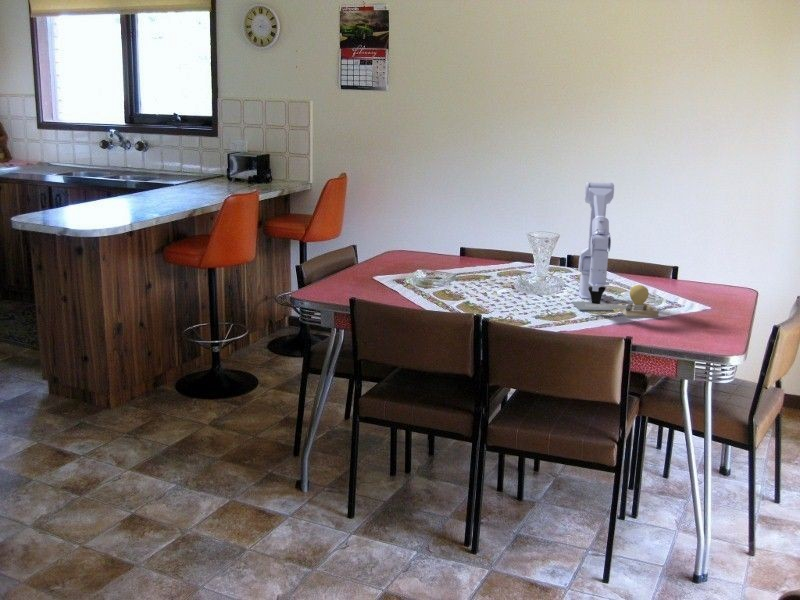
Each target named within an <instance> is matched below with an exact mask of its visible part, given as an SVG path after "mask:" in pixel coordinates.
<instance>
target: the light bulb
mask: <svg viewBox="0 0 800 600" xmlns="http://www.w3.org/2000/svg"><path fill="white" fill-rule="evenodd" d="M629 290H630V291H629V297H630V300H631V301H632V304H633V307H632V310H643V306H644V305H643V304H645V302H646V301H647V300H648V298H649V293H650V292H649V289H648V287H646V286H644V285H642V284H637V285H634V286H632V287H631V288H630V289H629Z"/></svg>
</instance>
